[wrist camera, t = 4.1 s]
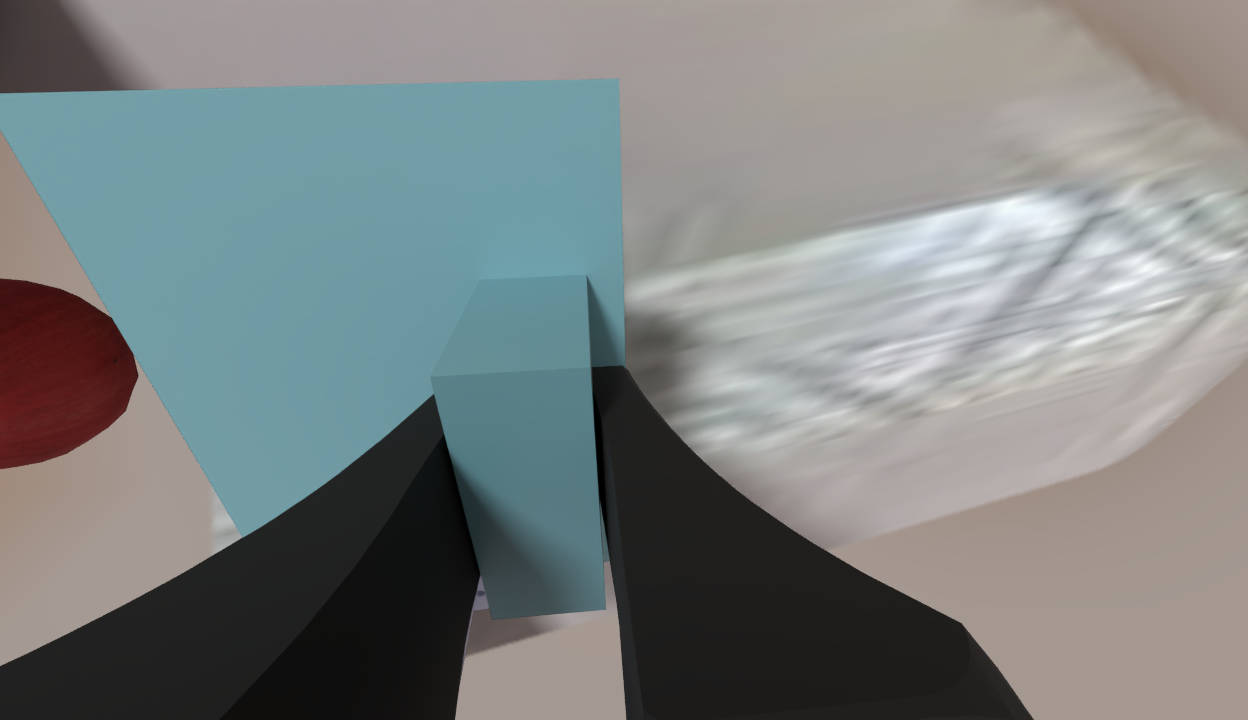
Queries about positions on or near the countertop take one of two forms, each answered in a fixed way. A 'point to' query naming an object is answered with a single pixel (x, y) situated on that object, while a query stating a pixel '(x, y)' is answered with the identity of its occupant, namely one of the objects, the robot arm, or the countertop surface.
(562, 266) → the lid
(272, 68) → the countertop surface
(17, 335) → the onion
